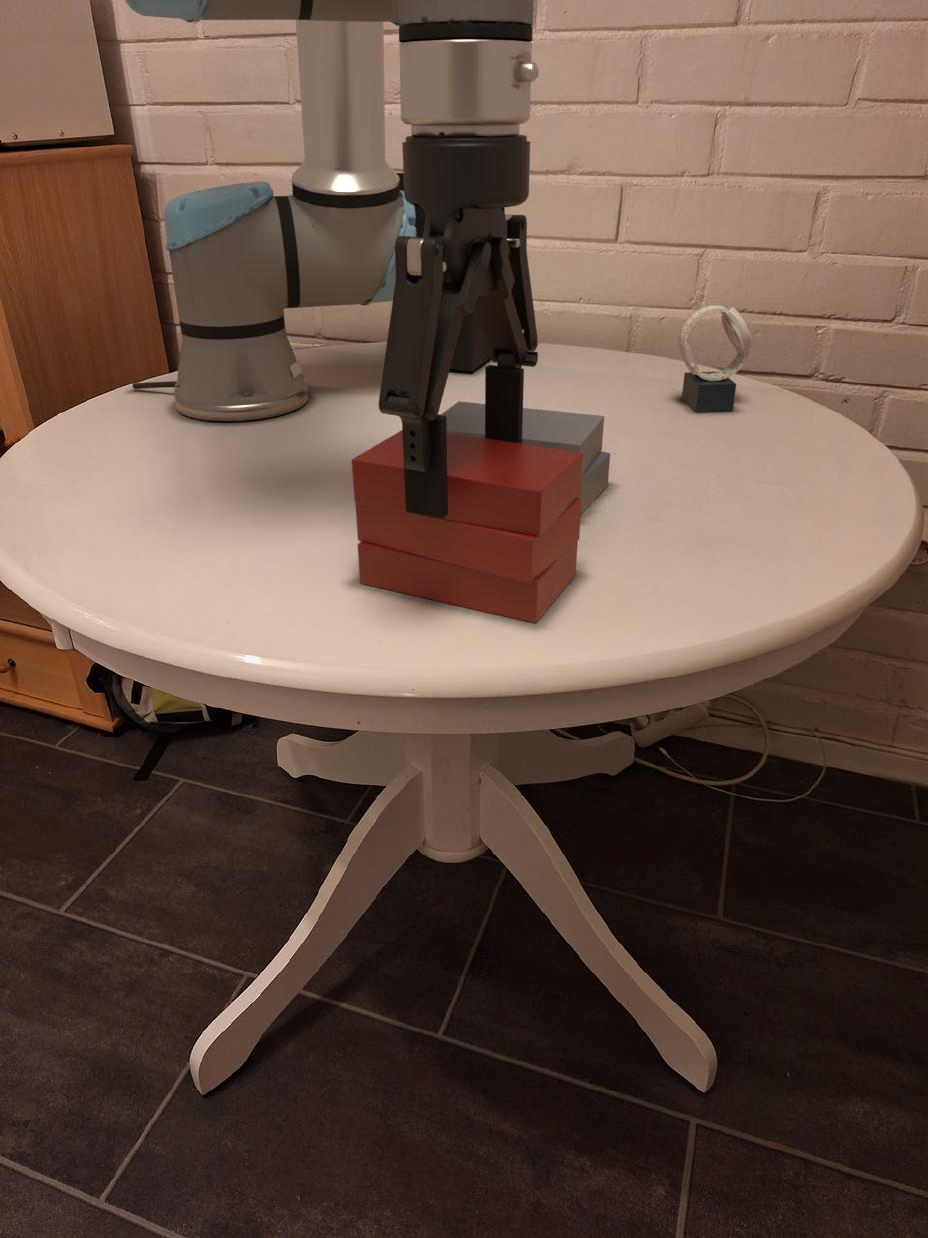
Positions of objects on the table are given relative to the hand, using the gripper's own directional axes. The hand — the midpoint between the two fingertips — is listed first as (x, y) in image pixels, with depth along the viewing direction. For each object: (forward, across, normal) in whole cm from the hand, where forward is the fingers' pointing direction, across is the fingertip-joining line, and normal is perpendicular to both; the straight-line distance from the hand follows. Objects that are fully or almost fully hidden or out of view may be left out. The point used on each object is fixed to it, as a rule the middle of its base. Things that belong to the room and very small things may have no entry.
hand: (467, 481), depth 64 cm
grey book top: (+5, +18, +4) cm, 19 cm away
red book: (+1, 0, 0) cm, 1 cm away
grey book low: (+8, +18, +4) cm, 20 cm away
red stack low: (+8, 0, 0) cm, 8 cm away
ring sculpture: (+8, +52, -6) cm, 53 cm away
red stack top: (+4, 0, 0) cm, 4 cm away
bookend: (+8, +64, +31) cm, 72 cm away
